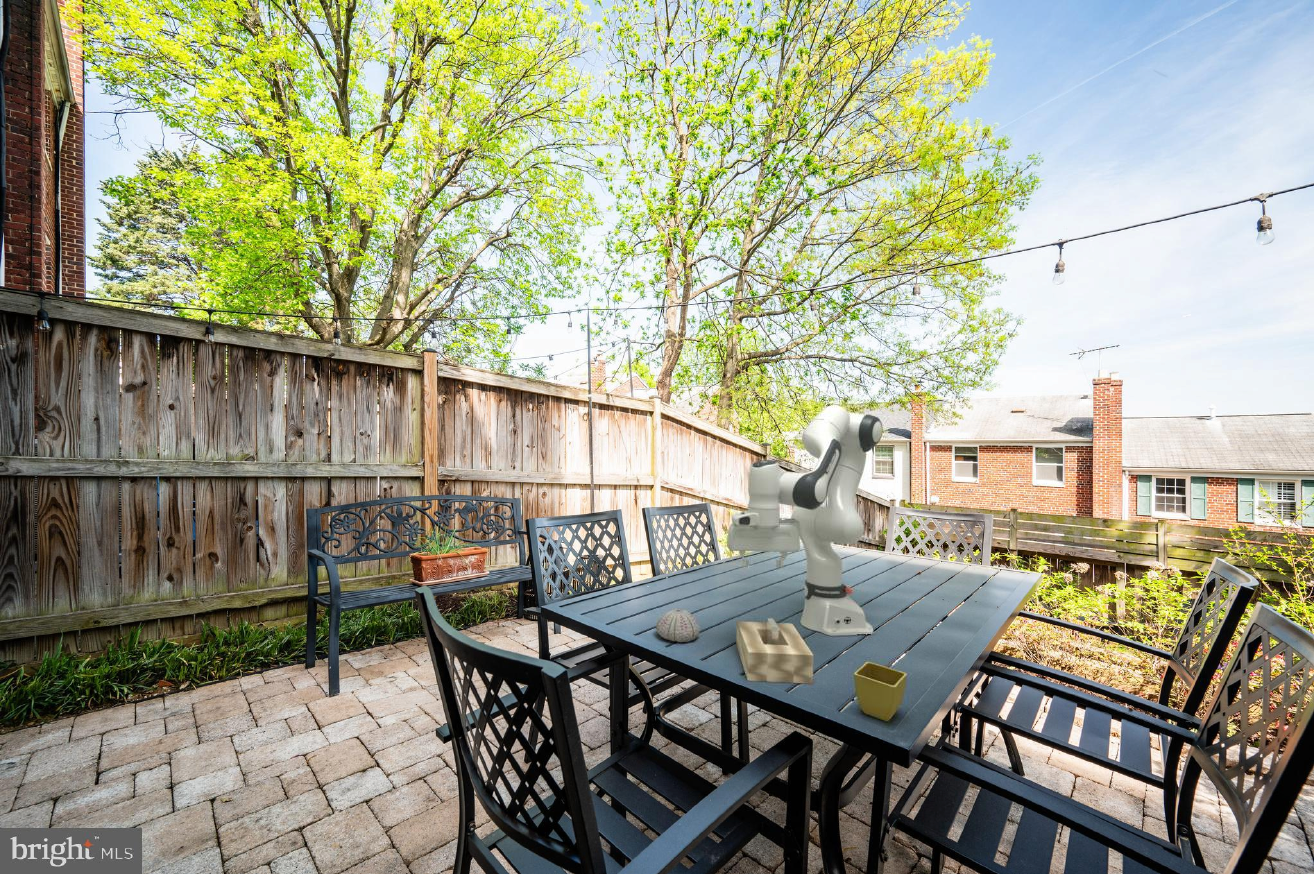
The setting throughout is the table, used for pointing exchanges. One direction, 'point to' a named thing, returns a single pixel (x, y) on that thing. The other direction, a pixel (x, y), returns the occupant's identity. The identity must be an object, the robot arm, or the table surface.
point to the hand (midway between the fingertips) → (762, 566)
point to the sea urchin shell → (678, 626)
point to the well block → (774, 654)
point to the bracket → (772, 632)
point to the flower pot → (879, 690)
